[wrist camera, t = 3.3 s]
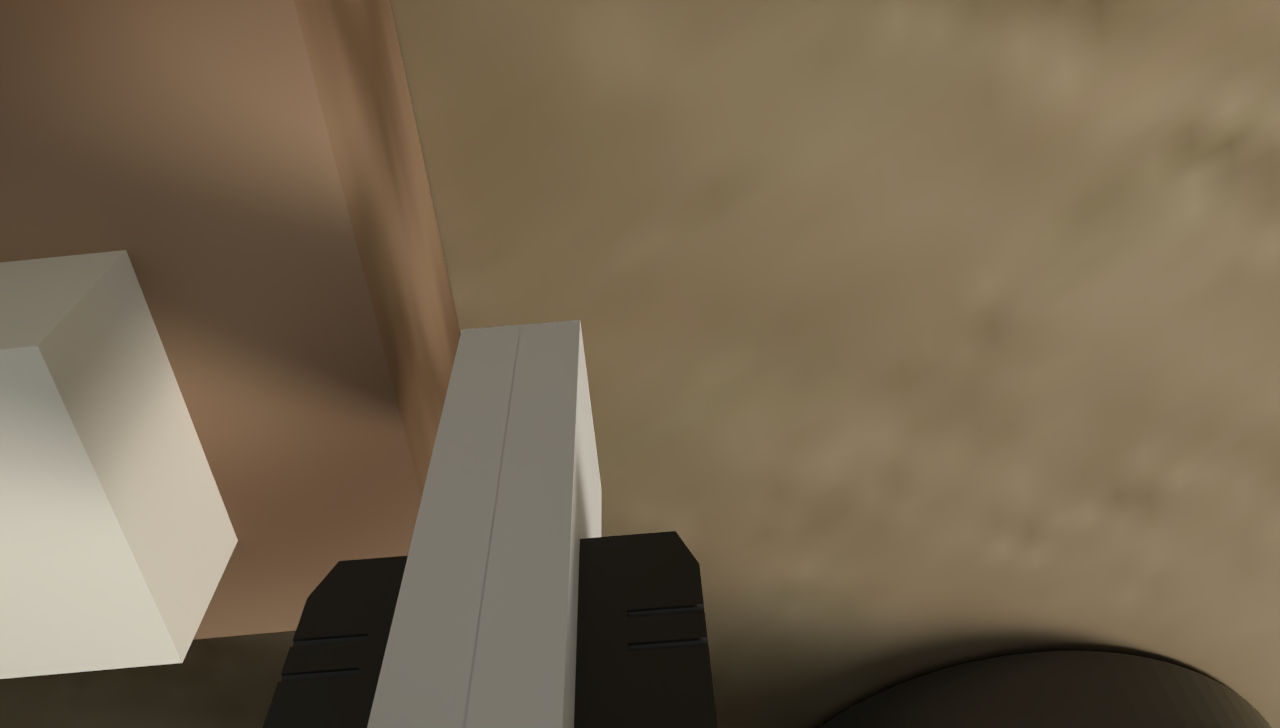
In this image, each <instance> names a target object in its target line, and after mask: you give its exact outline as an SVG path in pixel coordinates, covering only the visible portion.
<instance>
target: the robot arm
mask: <svg viewBox="0 0 1280 728" xmlns="http://www.w3.org/2000/svg"><path fill="white" fill-rule="evenodd" d="M601 493H602V490H601V482H600V474H599V466H598V458H597V450H596V442H595V434H594V426H593V418H592V410H591V403H590V395H589V387H588V379H587V371H586V363H585V355H584V347H583V339H582V331H581V323H580V320H571V321H559V322H547V323H535V324H523V325H511V326H499V327H487V328H475V329H463V330H461V335H460V339H459V343H458V347H457V351H456V356H455V360H454V364H453V368H452V372H451V377H450V381H449V385H448V389H447V393H446V398H445V402H444V406H443V410H442V415H441V419H440V423H439V427H438V431H437V436H436V440H435V444H434V448H433V452H432V457H431V461H430V465H429V469H428V473H427V478H426V482H425V486H424V490H423V494H422V499H421V503H420V507H419V511H418V515H417V520H416V524H415V528H414V532H413V536H412V541H411V545H410V549H409V553H408V556H396V557H384V558H371V559H359V560H346V561H339V562H338V563H337V564H336V565H335V566H334V567H333V569H332V570H331V571H330V572H329V573H328V574H327V576H326V577H325V578H324V579H323V580H322V581H321V583H320V584H319V585H318V586H317V587H316V588H315V590H314V591H313V592H312V593H311V594H310V595H309V597H308V598H307V600H306V603H305V606H304V609H303V612H302V615H301V618H300V621H299V623H298V626H297V629H296V632H295V635H294V638H293V641H294V645H293V647H290V650H289V653H288V656H287V659H286V662H285V664H284V667H283V670H282V673H281V674H282V681H281V682H278V685H277V688H276V691H275V694H274V697H273V700H272V703H271V705H270V708H269V711H268V714H267V717H266V720H265V723H264V726H263V728H717V721H716V712H715V703H714V694H713V685H712V676H711V667H710V658H709V649H708V641H707V631H706V622H705V613H704V604H703V595H702V586H701V576H700V567H699V563H698V562H697V560H696V559H695V558H694V556H693V555H692V554H691V552H690V551H689V549H688V548H687V547H686V545H685V544H684V543H683V541H682V540H681V538H680V537H679V536H678V534H677V533H676V531H672V532H660V533H647V534H635V535H622V536H609V537H601ZM819 728H1271V727H1270V725H1269V724H1268V722H1267V721H1266V720H1265V719H1264V718H1263V716H1262V715H1261V714H1260V713H1259V712H1258V711H1257V710H1256V709H1255V708H1254V707H1253V706H1252V705H1251V704H1249V703H1248V702H1247V701H1246V700H1245V699H1243V698H1242V697H1241V696H1239V695H1238V694H1237V693H1235V692H1234V691H1232V690H1231V689H1229V688H1227V687H1226V686H1224V685H1222V684H1221V683H1219V682H1217V681H1215V680H1213V679H1211V678H1209V677H1207V676H1204V675H1202V674H1200V673H1197V672H1195V671H1192V670H1189V669H1187V668H1184V667H1181V666H1177V665H1174V664H1171V663H1168V662H1164V661H1159V660H1155V659H1151V658H1146V657H1140V656H1134V655H1128V654H1121V653H1111V652H1099V651H1047V652H1032V653H1023V654H1015V655H1007V656H1001V657H995V658H989V659H984V660H979V661H974V662H970V663H965V664H961V665H957V666H954V667H950V668H946V669H943V670H939V671H936V672H933V673H930V674H927V675H924V676H920V677H917V678H915V679H912V680H910V681H907V682H904V683H902V684H899V685H896V686H894V687H892V688H890V689H887V690H885V691H883V692H881V693H878V694H876V695H874V696H872V697H870V698H868V699H866V700H864V701H862V702H860V703H858V704H856V705H854V706H853V707H851V708H849V709H847V710H846V711H844V712H842V713H841V714H839V715H837V716H836V717H834V718H833V719H831V720H830V721H828V722H827V723H825V724H824V725H822V726H821V727H819Z"/></svg>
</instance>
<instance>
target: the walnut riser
mask: <svg viewBox="0 0 1280 728" xmlns="http://www.w3.org/2000/svg"><path fill="white" fill-rule="evenodd" d="M121 250H126V251H127V253H128V256H129V259H130V261H131V264H132V266H133V269H134V272H135V274H136V277H137V279H138V282H139V285H140V287H141V290H142V292H143V295H144V298H145V300H146V303H147V305H148V308H149V311H150V313H151V316H152V318H153V321H154V324H155V326H156V329H157V331H158V334H159V337H160V339H161V342H162V344H163V347H164V350H165V352H166V355H167V357H168V360H169V363H170V365H171V368H172V370H173V373H174V376H175V378H176V381H177V383H178V386H179V389H180V391H181V394H182V396H183V399H184V402H185V404H186V407H187V409H188V412H189V415H190V417H191V420H192V422H193V425H194V428H195V430H196V433H197V435H198V438H199V441H200V443H201V446H202V448H203V451H204V454H205V456H206V459H207V461H208V464H209V467H210V469H211V472H212V474H213V477H214V480H215V482H216V485H217V488H218V490H219V493H220V495H221V498H222V501H223V503H224V506H225V508H226V511H227V514H228V516H229V519H230V521H231V524H232V527H233V529H234V532H235V534H236V537H237V540H238V542H237V544H236V546H235V548H234V550H233V553H232V555H231V557H230V559H229V561H228V564H227V566H226V568H225V570H224V572H223V575H222V577H221V579H220V581H219V583H218V586H217V588H216V590H215V592H214V594H213V597H212V599H211V601H210V603H209V606H208V608H207V610H206V612H205V614H204V617H203V619H202V621H201V623H200V625H199V628H198V630H197V632H196V634H195V636H194V639H193V640H195V639H206V638H217V637H228V636H240V635H251V634H262V633H273V632H284V631H296V629H297V626H298V623H299V621H300V618H301V615H302V612H303V609H304V606H305V603H306V600H307V598H308V597H309V595H310V594H311V593H312V592H313V591H314V590H315V588H316V587H317V586H318V585H319V584H320V583H321V581H322V580H323V579H324V578H325V577H326V576H327V574H328V573H329V572H330V571H331V570H332V569H333V567H334V566H335V565H336V564H337V563H338V562H339V561H346V560H359V559H371V558H384V557H396V556H408V553H409V549H410V545H411V541H412V536H413V532H414V528H415V524H416V520H417V515H418V511H419V507H420V503H421V499H422V494H423V490H424V486H425V482H426V478H427V473H428V469H429V465H430V461H431V457H432V452H433V448H434V444H435V440H436V436H437V431H438V427H439V423H440V419H441V415H442V410H443V406H444V402H445V398H446V393H447V389H448V385H449V381H450V377H451V372H452V368H453V364H454V360H455V356H456V351H457V347H458V343H459V339H460V330H459V325H458V321H457V316H456V311H455V306H454V302H453V297H452V292H451V288H450V283H449V278H448V273H447V269H446V264H445V259H444V254H443V250H442V245H441V240H440V235H439V231H438V226H437V221H436V216H435V212H434V207H433V202H432V198H431V193H430V188H429V183H428V179H427V174H426V169H425V164H424V160H423V155H422V150H421V145H420V141H419V136H418V131H417V126H416V122H415V117H414V112H413V107H412V103H411V98H410V93H409V89H408V84H407V79H406V74H405V70H404V65H403V60H402V55H401V51H400V46H399V41H398V36H397V32H396V27H395V22H394V17H393V13H392V8H391V3H390V0H0V262H10V261H20V260H30V259H40V258H50V257H61V256H71V255H81V254H91V253H101V252H111V251H121Z"/></svg>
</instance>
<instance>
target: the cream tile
mask: <svg viewBox="0 0 1280 728" xmlns="http://www.w3.org/2000/svg"><path fill="white" fill-rule="evenodd" d="M237 542H238V540H237V537H236V534H235V532H234V529H233V527H232V524H231V521H230V519H229V516H228V514H227V511H226V508H225V506H224V503H223V501H222V498H221V495H220V493H219V490H218V488H217V485H216V482H215V480H214V477H213V474H212V472H211V469H210V467H209V464H208V461H207V459H206V456H205V454H204V451H203V448H202V446H201V443H200V441H199V438H198V435H197V433H196V430H195V428H194V425H193V422H192V420H191V417H190V415H189V412H188V409H187V407H186V404H185V402H184V399H183V396H182V394H181V391H180V389H179V386H178V383H177V381H176V378H175V376H174V373H173V370H172V368H171V365H170V363H169V360H168V357H167V355H166V352H165V350H164V347H163V344H162V342H161V339H160V337H159V334H158V331H157V329H156V326H155V324H154V321H153V318H152V316H151V313H150V311H149V308H148V305H147V303H146V300H145V298H144V295H143V292H142V290H141V287H140V285H139V282H138V279H137V277H136V274H135V272H134V269H133V266H132V264H131V261H130V259H129V256H128V253H127V251H126V250H121V251H111V252H101V253H91V254H81V255H71V256H61V257H50V258H40V259H30V260H20V261H10V262H0V679H7V678H19V677H30V676H41V675H52V674H64V673H75V672H86V671H97V670H109V669H120V668H131V667H142V666H154V665H165V664H176V663H183V661H184V658H185V656H186V654H187V652H188V650H189V647H190V645H191V643H192V641H193V639H194V636H195V634H196V632H197V630H198V628H199V625H200V623H201V621H202V619H203V617H204V614H205V612H206V610H207V608H208V606H209V603H210V601H211V599H212V597H213V594H214V592H215V590H216V588H217V586H218V583H219V581H220V579H221V577H222V575H223V572H224V570H225V568H226V566H227V564H228V561H229V559H230V557H231V555H232V553H233V550H234V548H235V546H236V544H237Z"/></svg>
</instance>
